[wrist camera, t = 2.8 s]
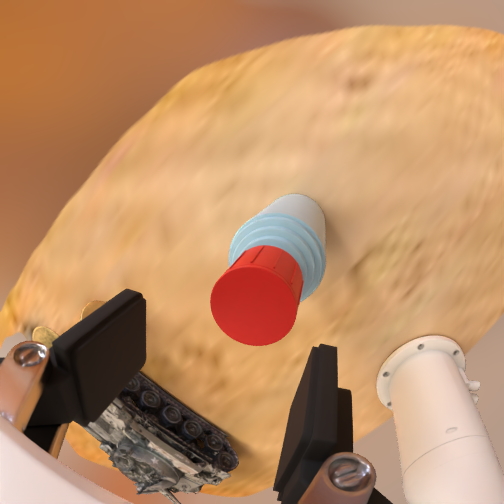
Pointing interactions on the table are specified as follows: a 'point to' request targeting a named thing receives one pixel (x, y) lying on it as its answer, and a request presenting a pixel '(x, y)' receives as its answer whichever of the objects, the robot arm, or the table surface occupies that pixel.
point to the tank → (161, 442)
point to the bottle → (288, 236)
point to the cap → (258, 296)
